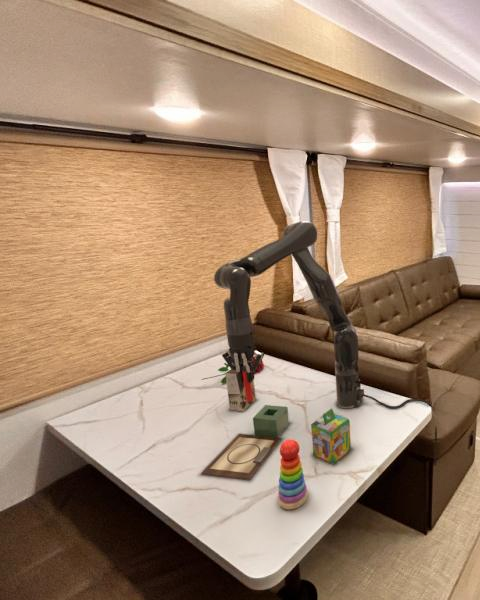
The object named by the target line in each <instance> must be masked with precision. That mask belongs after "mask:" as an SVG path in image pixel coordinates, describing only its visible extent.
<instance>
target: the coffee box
mask: <svg viewBox="0 0 480 600" xmlns="http://www.w3.org/2000/svg"><path fill="white" fill-rule="evenodd" d="M224 374H225V375H224V376H226V383H225V384H226V389H227V398H228V405H229V410H230V411H237V412H244V411H245V410H247V408H249V407H250V406H251V405H252V404H249V403H248V402H247V399H246V393H245V387H244V382H240V381H239V378H238V372H237V371H236V370H232V369H231V368H230V369H228V371H226V372H224ZM251 388H252V394H253V401H252V402H253V403H255V402H256V401H257V397H256V395H257V394H256V390H255V389H256V387H255V379H254V380H253V381H252V382H251Z"/></svg>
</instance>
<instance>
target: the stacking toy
mask: <svg viewBox="0 0 480 600" xmlns="http://www.w3.org/2000/svg"><path fill="white" fill-rule="evenodd" d="M299 453H300V444H299V442H298V441H297V440H296V439H293V438H290V439H289V438H288V439H285V440H284V441H283V442H282V443H281V445H280V447H279V454H280V456H281V457H280V468H279V469H280V472H279V478H278V493H277V495H278V496H277V502H278V504H279V506H280V507H281V508H283V509H284V510H285V509H286V510H294V509H297V508H299V507H301V506H302V505H304V503H305V502H306V501H307V500H308V496H309V494H308V487H307V483H306V479H305V474H304V469H303V465H302V463H303V462H302V461H301V457H300V455H299Z"/></svg>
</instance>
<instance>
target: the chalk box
mask: <svg viewBox="0 0 480 600" xmlns="http://www.w3.org/2000/svg"><path fill="white" fill-rule="evenodd" d="M350 420H351V419H349V418H347V417H344V416H342V415H340V414H337V413H335V411H334V409H333V408H330V409H328V410H327V411H326V412H324V413H323V414H322V416H320V417H319V418H318V419H316V420H314V421H313V422H312V423H310V427H311V429H310V430H311V441H312V453H313V456H315V457H317V458H319V459H321V460H323V461H325V462H327V463H330V464H332V465H335V464H336V463H337V462H338V461H339V460H341V458H343V457H344V456H345V455H346V454H347V453H348V452H349V451H351V450H352V446H351V445H352V444H351V443H352V442H351V423H350V422H351V421H350Z"/></svg>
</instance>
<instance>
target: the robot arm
mask: <svg viewBox="0 0 480 600" xmlns="http://www.w3.org/2000/svg"><path fill="white" fill-rule="evenodd" d="M318 235H319V232H318V229H317V227H316V225H314V223H312V222H311V221H308V220H301V221H298V222H295V223H292V224H290V225H287V226H285V228H284V229H283V231H282V237H280V238H278V239H276V240H274V241H272V242H270V243H267V244H265V245H263V246H261V247H259V248H256V249H254V250H253V251H252V252H249V253H248V254H247V255H245V256H243V257H240V258H238V259H235V260H232V261H230V262H229V261H228V262H227V263H224V264H223V265H221V266H220V267H218V268H217V269H216V271H215V272H214V276H213V281H214V283H215V285H216V286H217V287H219V288H221V289H223V290H229V292H230V293H229V297H227V298H225V299H224V301H223V303H222V305H223V312H224V313H223V314H224V318H225V319H224V321H225V331H226V338H227V345H228V347H229V349H228V350H227V351H225V352H224V353H222V354H221V356H222V358H223V360H224V361H225V363H226V364H228V365H229V367H228V368H230V370H231V369H232V370H236V371H237V372H238V378H239V381H240V382H244V381H243V375H242V370H241V367H243V366H246V370H247V380H248V383H251V382H252V381H253V380H254V381H255V372H254V371H255V370H256V369H257V368H258V367H259V366H260V363H261V361H263V358H264V356H265V353H264V352H263V351H262V352H259V351H258V350H257V348H256V346H255V334H254V327H253V321H252V318H251V311H250V304H249V300H250V296H251V295H250V293H251V288H252V287H251V286H252V280H251V278H253V277H258V276H260V275H262V274H263V273H265V272H266V271H269V270H270V269H271V268H272V267H274V266H275V265H277V264H279V263H280V262H281V261H283V260H284V259H285V258H287V257H289V256H292V258H293V259H294V261H295V262H296V264H297V266H298V268H299V270H300V272H301V274H302V276H303V278H304V280H305V282H306V284H307V287H308V288H309V291H310V293H311V295H312V298H313V299H314V301H315V302H316V303H315V304H317V306H318V307H319V309H320V310H321V312H322V313H323V314H324V316H325V317H326V319H327V322H328V325H329V327H330V330H331V333H332V339H333V350H334V351H333V352H334V353H333V354H334V374H335V375H334V376H335V390H336V391H335V392H336V406H338V407H339V408H341V409H352V408H358V407H359V405H360V403H361V402H362V400H363V398H364V397H365V398H367V399H371V400H373V401H374V402H376V403H377V404H379V405H381V406H384V407H386V408H387V409H399V408H401V407H403V406H404V405H405V404H407V403H409V402H423V403H425V404H426V405H427V406H429V407H433V405H432V404H431V403H430V402H429V401H427V400H425V399H423V398H410V399H407V400H404V401H403V402H402V403H400V404H398V405H387V404H386V403H384V402H382V401H380V400H378V399H377V398H376V397H373V396H370V395H367V394H365V389H364V388H362V385H361V379H360V373H359V355H360V354H359V337H358V336H359V335H358V333H357V331H356V328H355V327H354V326H353V324H352V322H351V320H350V319H349V317H348V315H347V314H346V312H345V309H344V307H343V304H342V300H341V297H340V294H339V291H338V289H337V286H336V284H335V282H334V280H333V278H332V276H331V274H330V273H329V272H328V271H327V270H326V269H325V268H324V267H323V266H322V265H321V264H319V263H318V261H316V260H315V258H314V257H313V255H312V254H311V251H310V247H312V246H313V245H315V243H316V242H317V240H318V237H319V236H318ZM254 356H255V359H256V360H255V362H254V360H253V357H254ZM253 362H254V364H253ZM437 428H438V427H435V430H434V454H433V456H434V457H433V462H434V467H436V466H437V450H438V448H437V446H438V429H437Z"/></svg>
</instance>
